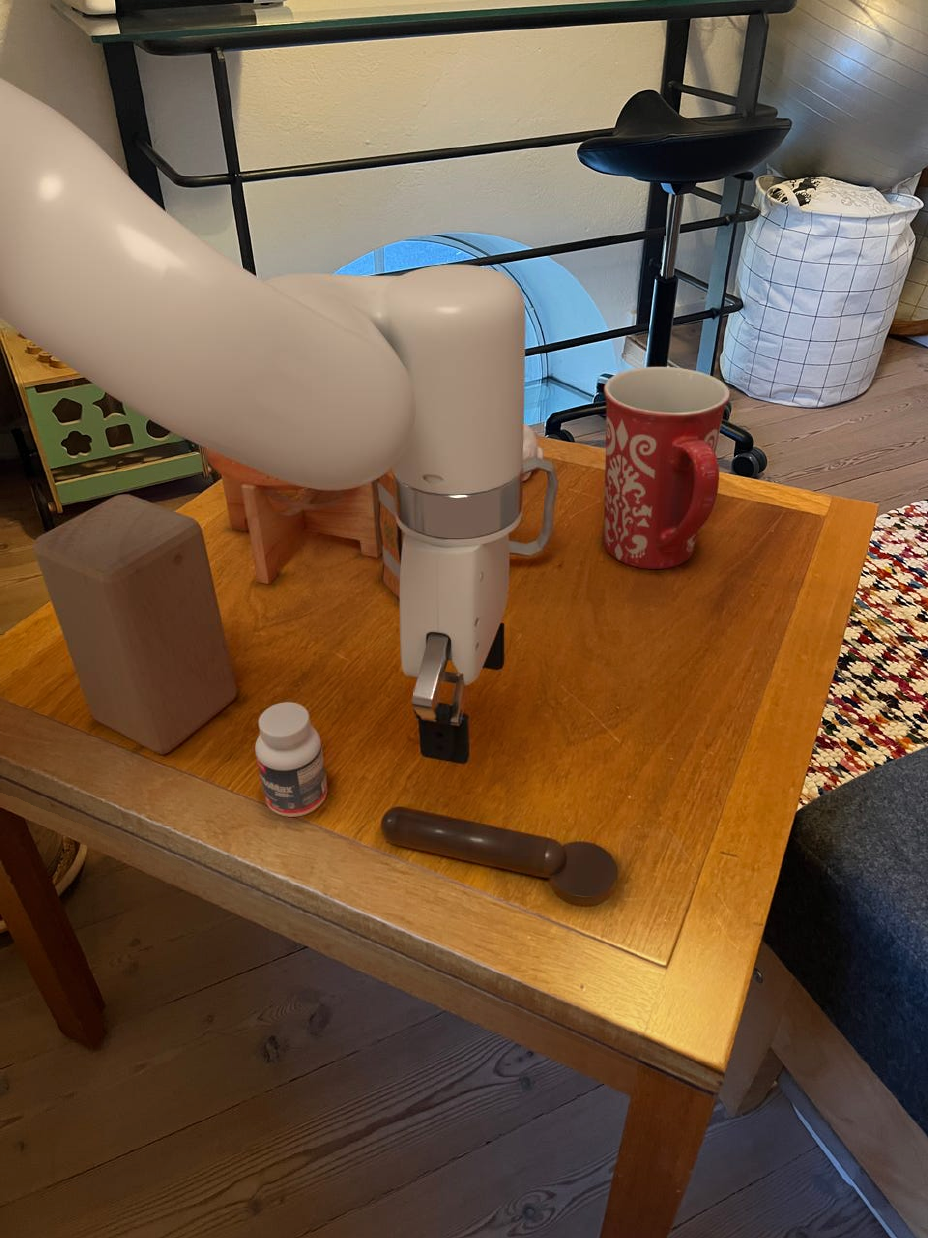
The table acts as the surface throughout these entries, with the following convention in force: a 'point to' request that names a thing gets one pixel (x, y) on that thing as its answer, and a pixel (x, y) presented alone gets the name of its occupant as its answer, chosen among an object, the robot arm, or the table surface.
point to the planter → (293, 513)
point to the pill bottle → (290, 760)
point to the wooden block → (139, 619)
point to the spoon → (508, 852)
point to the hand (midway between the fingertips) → (464, 708)
